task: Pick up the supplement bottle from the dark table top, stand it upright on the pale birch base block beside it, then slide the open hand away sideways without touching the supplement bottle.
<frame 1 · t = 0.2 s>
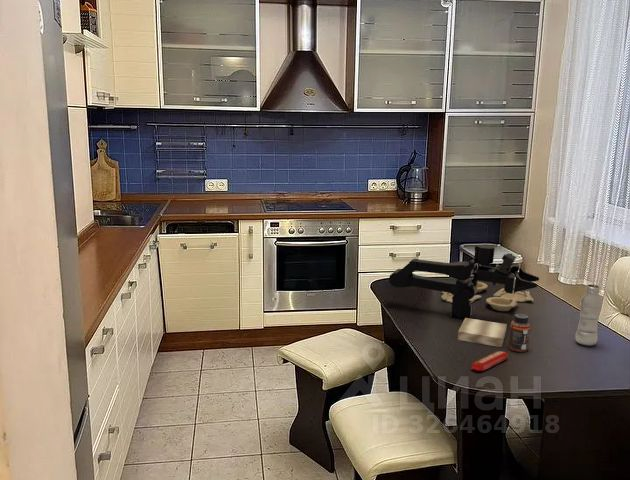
hand: (538, 282, 198), 17 cm above the table, tool horizontal, fingers open, 9 cm apart
birch base block: (482, 336, 193), on the table
plastic bottle: (585, 344, 188), on the table
candy bar: (489, 366, 172), on the table
tableware set: (486, 299, 233), on the table
supplement bottle: (518, 349, 183), on the table
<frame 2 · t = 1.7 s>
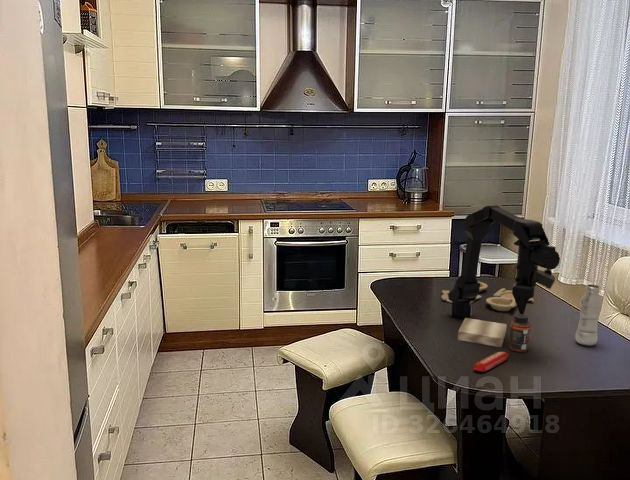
hand: (522, 309, 180), 13 cm above the table, tool pointing down, fingers open, 9 cm apart
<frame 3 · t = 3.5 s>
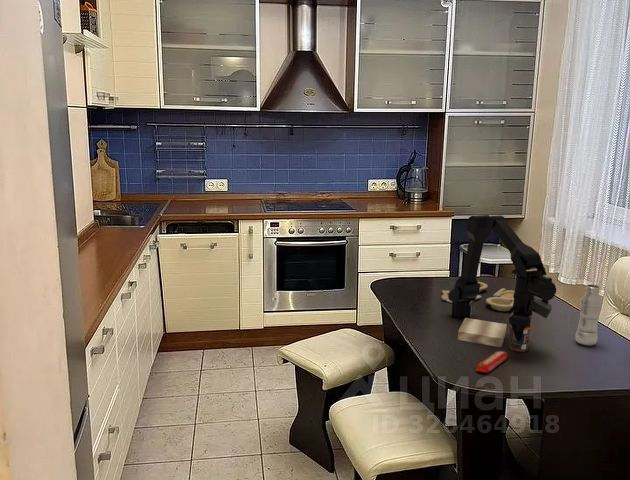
hand: (519, 337, 182), 4 cm above the table, tool pointing down, fingers closed on supplement bottle, 6 cm apart
supplement bottle: (518, 349, 183), on the table, touching gripper
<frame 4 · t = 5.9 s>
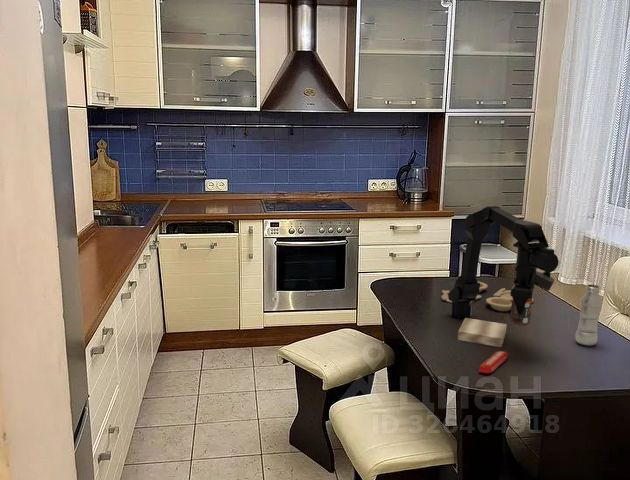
hand: (520, 311, 181), 13 cm above the table, tool pointing down, fingers closed on supplement bottle, 6 cm apart
supplement bottle: (519, 323, 182), point 9 cm above the table, touching gripper
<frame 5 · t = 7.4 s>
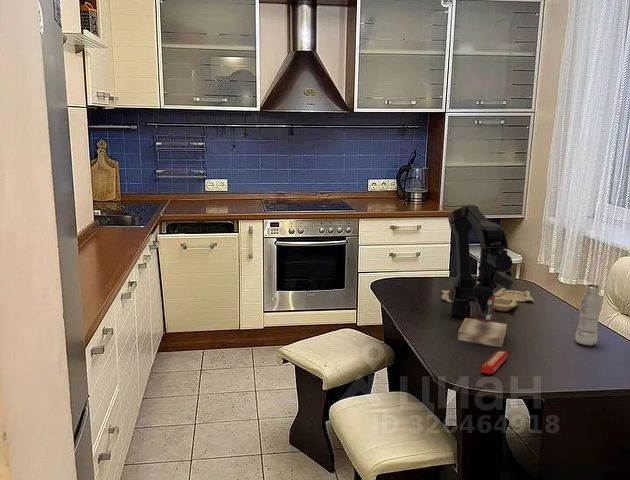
hand: (484, 308, 191), 10 cm above the table, tool pointing down, fingers closed on supplement bottle, 6 cm apart
supplement bottle: (483, 320, 192), point 6 cm above the table, touching gripper
when the fingers open (8 cm above the table, at t = 8.5 s): supplement bottle drops 1 cm, resting on birch base block.
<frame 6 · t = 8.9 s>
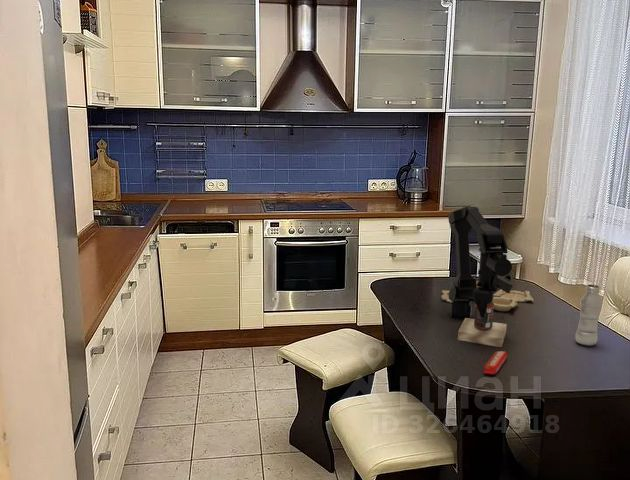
hand: (484, 312, 191), 8 cm above the table, tool pointing down, fingers open, 9 cm apart
supplement bottle: (482, 328, 193), point 3 cm above the table, touching birch base block
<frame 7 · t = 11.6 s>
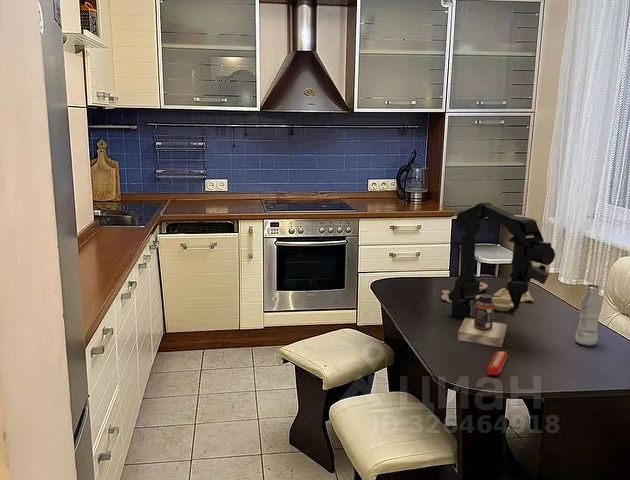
hand: (517, 304, 186), 13 cm above the table, tool pointing down, fingers open, 9 cm apart
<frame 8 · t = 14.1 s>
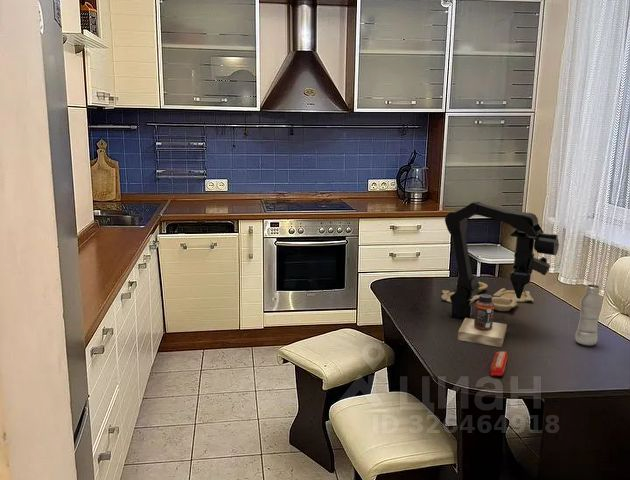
hand: (519, 294, 196), 13 cm above the table, tool pointing down, fingers open, 9 cm apart
at the end: supplement bottle inside the target area on the birch base block (0.2 cm from its centre), point 2.8 cm above the birch base block's base; supplement bottle tilted 0°; the gripper is holding nothing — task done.
